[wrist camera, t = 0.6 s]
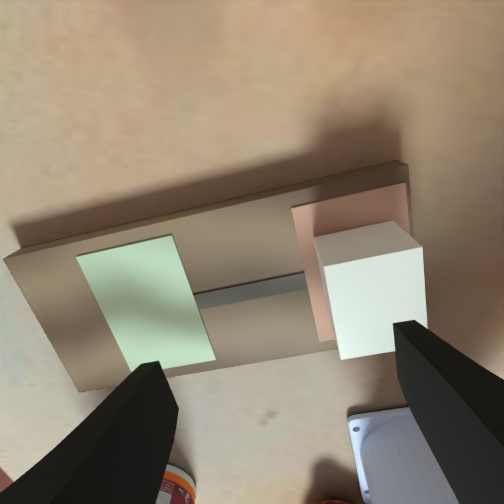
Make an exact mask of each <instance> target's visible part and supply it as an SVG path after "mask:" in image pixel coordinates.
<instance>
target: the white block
mask: <svg viewBox="0 0 504 504" xmlns="http://www.w3.org/2000/svg"><path fill="white" fill-rule="evenodd" d="M313 238H314V243H315V249H316V254H317V259H318V264H319V270H320V275H321V280H322V285H323V290H324V296H325V301H326V306H327V311H328V317H329V321H330V324H331V327H332V331H333V334H334V338H335V341H336V345H337V348H338V352H339V355H340V359H341V360H344V359H350V358H356V357H362V356H368V355H374V354H380V353H386V352H392V351H395V343H394V332H393V323H397V322H403V321H409V320H416V321H417V322H419V323H420V324H421V325H423V326H424V327H426V328H427V312H426V296H425V280H424V264H423V249H422V246H421V245H420V244H419V243H417V242H416V241H415V240H414V239H413V238H412V237H411V236H410V235H409V234H408V233H406V232H405V231H404V230H403V229H402V228H401V227H400V226H399V225H398V224H397V223H396V222H394V221H388V222H383V223H379V224H374V225H369V226H365V227H360V228H355V229H351V230H346V231H341V232H337V233H332V234H327V235H322V236H318V237H313ZM427 329H428V328H427Z"/></svg>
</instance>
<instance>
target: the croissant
mask: <svg viewBox="0 0 504 504" xmlns="http://www.w3.org/2000/svg"><path fill="white" fill-rule="evenodd" d="M320 504H350V503H348V502H345V501H341V500H333V501H327V500H326V501H323V502H321V503H320Z"/></svg>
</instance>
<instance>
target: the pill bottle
mask: <svg viewBox="0 0 504 504" xmlns="http://www.w3.org/2000/svg"><path fill="white" fill-rule="evenodd" d="M195 499H196V488H195V485H194V482H193V480H192V479H191V477H190V476H189V475H188V474H187V473H185V472H184V471H183V470H181V469H179V468H177V467H175V466H172V465H168V464H167V467H166V470H165V473H164V477H163V480H162V484H161V487H160V490H159V494H158V497H157V501H156V504H195Z"/></svg>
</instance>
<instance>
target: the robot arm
mask: <svg viewBox="0 0 504 504" xmlns="http://www.w3.org/2000/svg"><path fill="white" fill-rule="evenodd" d="M393 332H394V343H395V354H396V365H397V376H398V380H399V383H400V385H401V388H402V390H403V393H404V396H405V398H406V401H407V403H408V406H409V407H405V408H398V409H391V410H384V411H377V412H370V413H363V414H356V415H351V416H350V417H348V419H347V422H348V427H349V433H350V438H351V443H352V448H353V453H354V459H355V464H356V469H357V474H358V479H359V485H360V490H361V495H362V499H363V502H365V503H367V504H371V503H372V504H504V380H503V379H502V378H500V377H498V376H496V375H495V374H493V373H492V372H490V371H488V370H487V369H485V368H484V367H482V366H481V365H479V364H478V363H476V362H475V361H473V360H472V359H470V358H469V357H467V356H465V355H464V354H462V353H461V352H460V351H458V350H457V349H455V348H454V347H452V346H451V345H449V344H448V343H447V342H445V341H444V340H442V339H441V338H440V337H438V336H437V335H435V334H434V333H433V332H431V331H430V330H428V329H427V328H426V327H424V326H423V325H421V324H420V323H419V322H417V321H416V320H409V321H403V322H397V323H393ZM178 410H179V408H178V406H177V403H176V401H175V398H174V396H173V393H172V391H171V389H170V386H169V384H168V381H167V379H166V377H165V374H164V372H163V369H162V367H161V364H160V362H159V361H154V362H148V363H142V364H140V365H139V366H138V367H137V368H136V369H135V370H133V371H132V372H131V373H130V374H129V375H128V376H127V377H126V378H125V379H124V380H123V381H122V382H121V383H120V384H119V385H118V386H117V387H116V388H115V390H114V391H113V392H112V393H111V394H110V395H109V396H108V397H107V398H106V399H105V400H104V401H103V402H102V403H101V404H100V405H99V406H98V407H97V408H96V409H95V410H94V411H93V412H92V413H91V414H90V415H89V416H88V417H87V418H86V419H85V420H84V421H83V422H81V423H80V424H79V425H78V426H77V427H76V428H75V429H74V430H73V431H72V432H71V433H70V434H69V435H68V436H67V437H66V438H65V439H63V440H62V441H61V442H60V443H59V444H58V445H57V446H56V447H55V448H54V449H53V450H52V451H50V452H49V453H48V454H47V455H46V456H45V457H44V458H42V459H41V460H40V461H39V462H38V463H37V464H35V465H34V466H33V467H32V468H31V469H29V470H28V471H27V472H26V473H25V474H23V475H22V476H21V477H20V478H19V479H17V480H16V481H15V482H14V483H12V484H11V485H10V486H9V487H7V488H6V489H5V490H3V491H2V492H1V493H0V504H156V501H157V497H158V494H159V490H160V487H161V484H162V480H163V477H164V473H165V470H166V467H167V463H168V460H169V456H170V453H171V449H172V445H173V442H174V436H175V430H176V424H177V417H178Z"/></svg>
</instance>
